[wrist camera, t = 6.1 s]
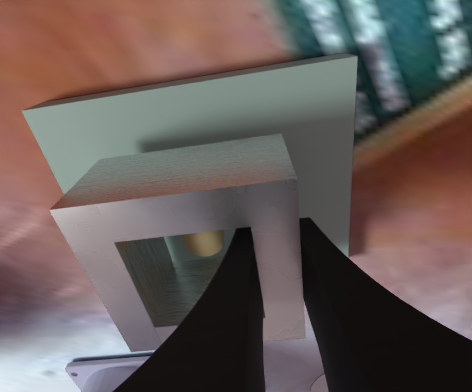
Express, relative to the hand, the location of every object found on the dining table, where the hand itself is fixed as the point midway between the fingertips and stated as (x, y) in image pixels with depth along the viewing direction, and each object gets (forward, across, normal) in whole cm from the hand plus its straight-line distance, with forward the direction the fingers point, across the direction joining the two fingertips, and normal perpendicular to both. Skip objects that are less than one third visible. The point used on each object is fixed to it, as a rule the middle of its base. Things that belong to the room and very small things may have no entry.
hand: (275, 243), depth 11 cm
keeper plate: (+5, +3, 0) cm, 5 cm away
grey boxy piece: (+2, +3, 0) cm, 3 cm away
